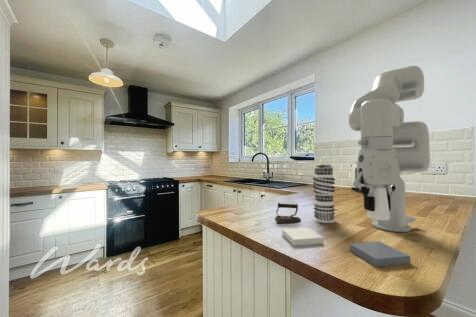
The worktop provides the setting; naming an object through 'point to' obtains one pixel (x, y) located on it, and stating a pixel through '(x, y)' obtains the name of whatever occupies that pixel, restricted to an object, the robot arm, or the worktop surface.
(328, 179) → the decorative candle
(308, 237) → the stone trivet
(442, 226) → the worktop surface
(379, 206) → the salt shaker
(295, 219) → the clothes iron
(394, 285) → the worktop surface
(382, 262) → the plate
